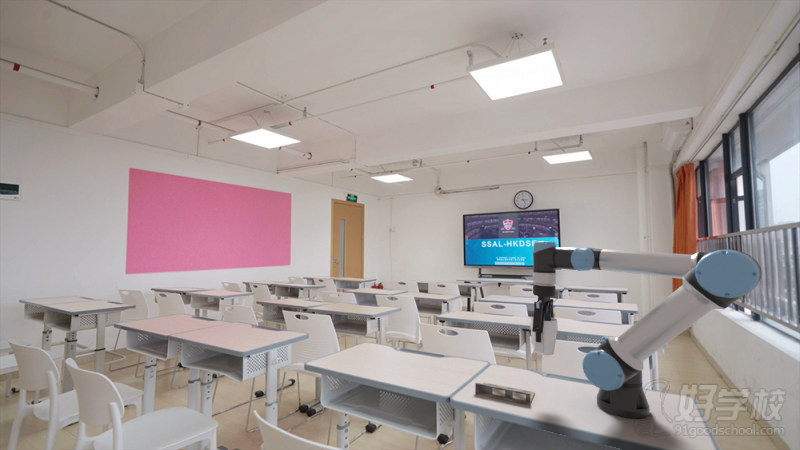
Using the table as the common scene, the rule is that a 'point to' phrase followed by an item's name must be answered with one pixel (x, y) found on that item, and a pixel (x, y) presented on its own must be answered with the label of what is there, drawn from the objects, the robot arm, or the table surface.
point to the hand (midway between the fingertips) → (543, 348)
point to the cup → (546, 336)
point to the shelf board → (504, 393)
